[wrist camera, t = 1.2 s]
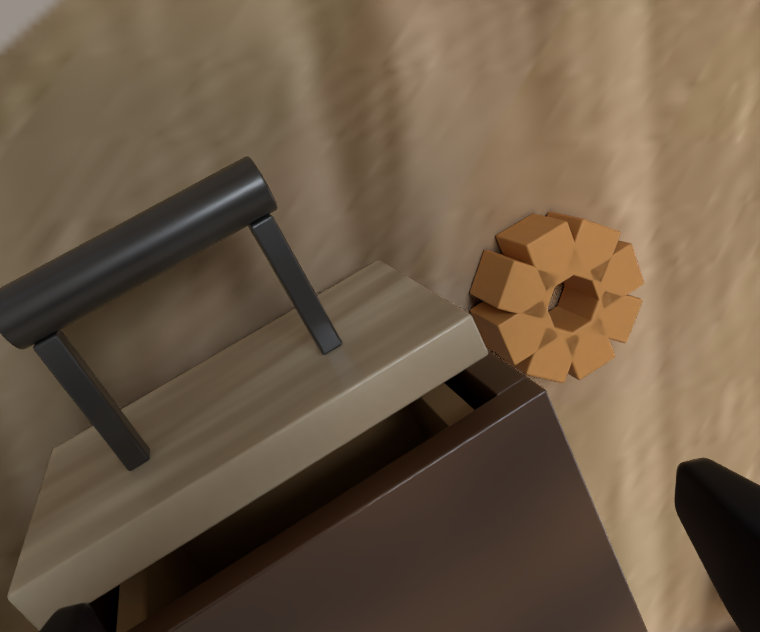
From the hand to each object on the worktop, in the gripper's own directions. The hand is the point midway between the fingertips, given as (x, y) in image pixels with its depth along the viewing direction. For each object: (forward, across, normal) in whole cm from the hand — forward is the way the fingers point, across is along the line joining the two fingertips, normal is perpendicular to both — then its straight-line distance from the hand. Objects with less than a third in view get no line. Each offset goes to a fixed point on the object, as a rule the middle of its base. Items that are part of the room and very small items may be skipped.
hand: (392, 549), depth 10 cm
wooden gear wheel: (+14, -7, +5) cm, 17 cm away
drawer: (+11, +3, +6) cm, 13 cm away
